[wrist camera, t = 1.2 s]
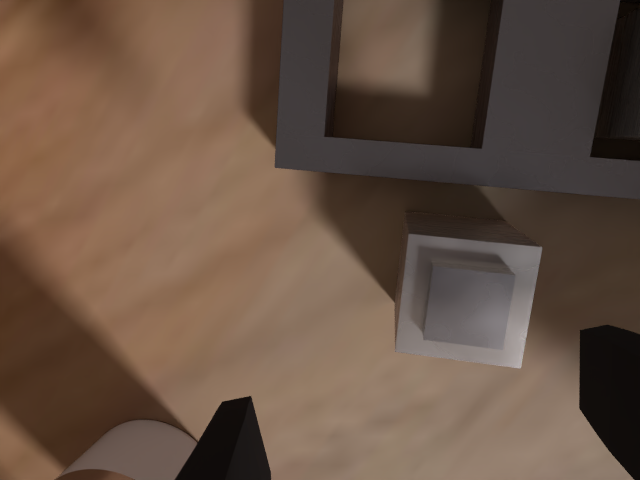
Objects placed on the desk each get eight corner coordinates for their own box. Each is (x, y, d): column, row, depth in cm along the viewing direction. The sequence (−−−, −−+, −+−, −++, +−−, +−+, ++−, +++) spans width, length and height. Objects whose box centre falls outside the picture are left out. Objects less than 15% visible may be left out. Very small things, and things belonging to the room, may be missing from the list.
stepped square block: (504, 220, 19) (548, 252, 14) (489, 313, 20) (525, 377, 15) (404, 210, 20) (409, 237, 14) (394, 302, 21) (395, 359, 15)
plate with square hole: (828, -32, 16) (906, -62, 14) (762, 204, 18) (821, 215, 15) (301, -46, 18) (287, -74, 16) (288, 164, 20) (274, 167, 18)
